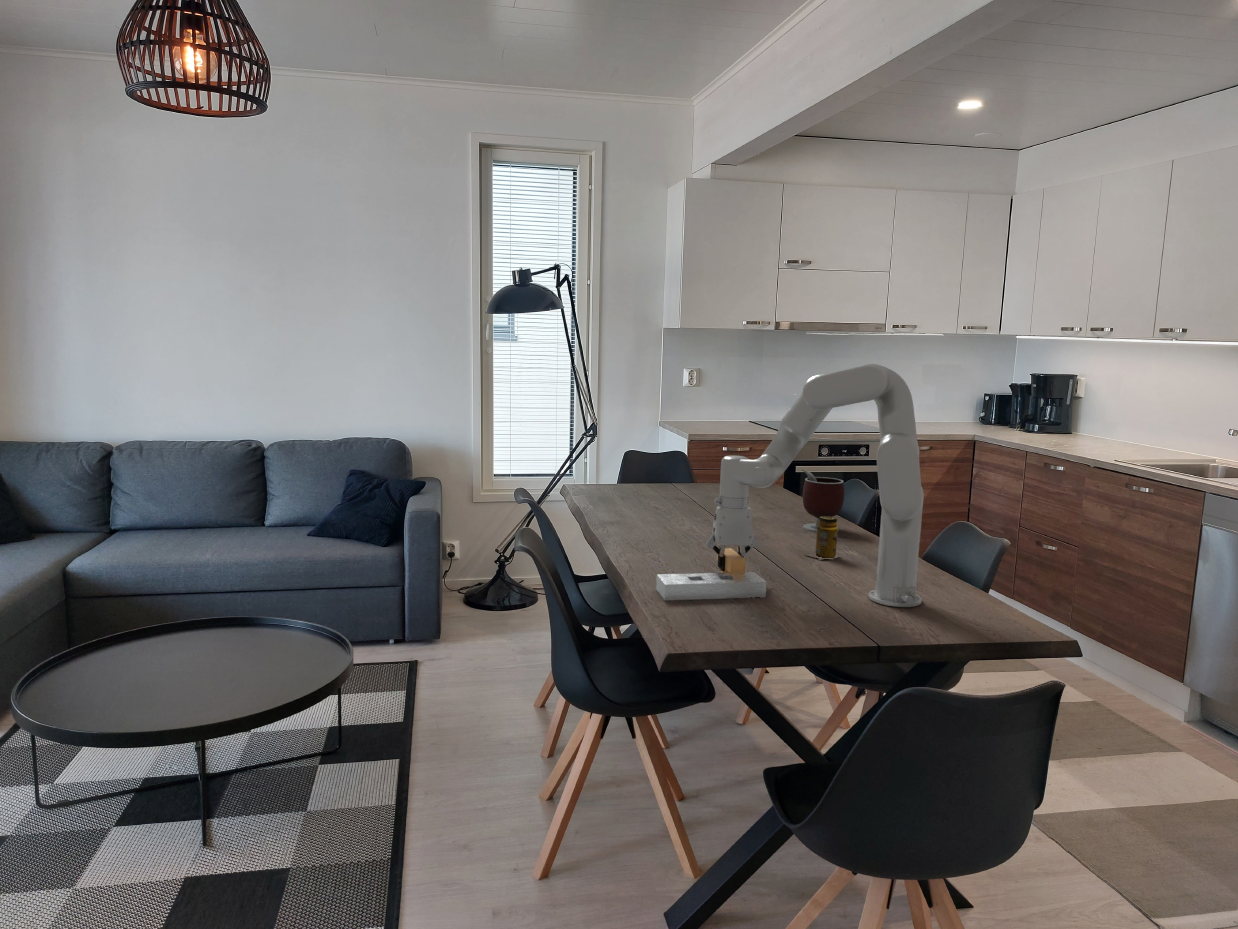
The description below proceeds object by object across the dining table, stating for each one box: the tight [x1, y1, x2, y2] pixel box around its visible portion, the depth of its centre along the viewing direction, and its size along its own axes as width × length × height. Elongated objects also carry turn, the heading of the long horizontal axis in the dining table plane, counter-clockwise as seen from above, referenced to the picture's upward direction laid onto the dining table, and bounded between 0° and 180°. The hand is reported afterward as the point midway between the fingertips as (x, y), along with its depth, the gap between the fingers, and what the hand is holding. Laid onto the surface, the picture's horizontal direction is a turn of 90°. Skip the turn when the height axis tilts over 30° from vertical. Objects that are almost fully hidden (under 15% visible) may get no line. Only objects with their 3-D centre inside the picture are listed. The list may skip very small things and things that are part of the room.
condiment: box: [814, 516, 839, 558], centre depth 254 cm, size 7×8×12 cm
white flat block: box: [655, 571, 767, 601], centre depth 214 cm, size 9×26×4 cm, turn 101°
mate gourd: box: [801, 468, 845, 533], centre depth 292 cm, size 16×14×20 cm
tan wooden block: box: [716, 547, 746, 573], centre depth 227 cm, size 4×12×7 cm, turn 11°
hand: (730, 569), depth 228 cm, fingers closed on tan wooden block, 4 cm apart
